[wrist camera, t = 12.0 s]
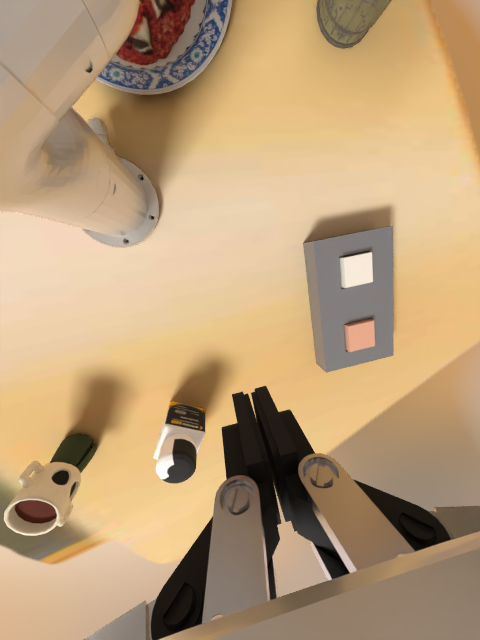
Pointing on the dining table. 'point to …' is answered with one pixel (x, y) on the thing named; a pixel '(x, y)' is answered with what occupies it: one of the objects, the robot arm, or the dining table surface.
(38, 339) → the dining table surface
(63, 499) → the character mug
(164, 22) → the ceramic plate
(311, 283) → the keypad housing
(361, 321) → the terracotta key
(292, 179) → the dining table surface
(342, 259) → the ivory key
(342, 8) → the thermos
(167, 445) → the medicine bottle
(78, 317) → the dining table surface
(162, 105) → the dining table surface
